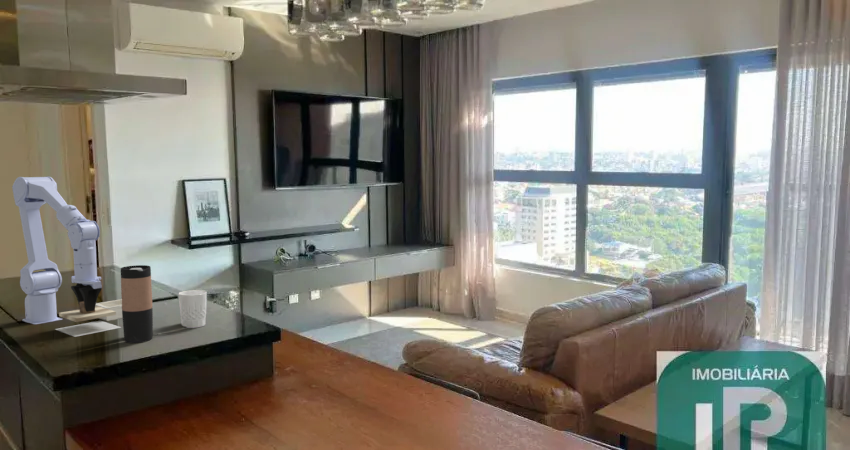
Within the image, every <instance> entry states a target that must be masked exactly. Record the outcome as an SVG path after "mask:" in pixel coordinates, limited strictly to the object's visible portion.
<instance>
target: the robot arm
mask: <svg viewBox="0 0 850 450" xmlns="http://www.w3.org/2000/svg"><path fill="white" fill-rule="evenodd" d="M57 184H58V183H57V182H56V181H55V179H54V178H53V177H51V176H49V175H48V176H32V177H31V176H30V177H29V176H25V177H24V176H18V177H16V179H15V180H14V182H13V184H12V186H11V187H12V194H13V199H14V203H15V204H14V205H15V206H17V207H18V212H19V216H20V222H21V227H22V228H21V229H22V233H23V239H24V243H25V250H26V254H27V255H26V256H27V261H28V262H27V263H26V264H25V265H24V266H23V267H22V268H21V269H20V270H19V273H20V279H19V286H20V288H21V290H22V291H23V292H24V293H25V294H26V296H25V298H24V312H25V318H23V319H22V322H24V323H28V324H32V325H40V324H46V323H52V322H57V321H62V320H63V318H62V317H58V315H57V313H58V311H57V296H56V293H57V292H58V291H59V288H60V287H61V285H62V283H63V277H62V274H61V272H60V270H59V267H58V264H56V262H53V261H52V260H50V259H49V257H48V250H47V245H46V239H45V233H44V228H43V227H44V226H43V223H42V218H41V213H40V212H41V211H40V210H41V207H42V206H43V205H45V204H47V205H48V206H49V207H50V208H52V209H53V210H54V211H55V212H56V215H55V217H56V219H57V220H58V221H59V223H61V224H62V226H63V227H64V228H65V229H66V230H67V237H68V239H69V242H70V247H71V249H73V250H72V253H73V270H74V271H73V272H74V275H72V276H71V283H72V284H75V285H71V286H70V289H71V290H72V292H73V293H74V296H75V297H76V299H77V302H78V305H79V302H83V301H84V305H85V310H86V311H87V312H89V311H94V310H95V306H96V303H97V301H98V297H99V295H100V293H101V291H102V289H103V286H102V276H98V267H97V266H98V265H97V246H96V241H97V240H98V239H99V237H100V235H101V229H100V226H99V224H98V223H97V221H95V220H90V219H87V218H86V217H85V216H84V215H83V214H82V213H81V212H80V211H79V209H78V208H77V206H76V205H73V204H67V203H68V202H66V201H65V199H64V198H63V197H62V195H61V194H60V193H59V192H58V185H57Z"/></svg>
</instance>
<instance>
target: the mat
mask: <svg viewBox="0 0 850 450" xmlns="http://www.w3.org/2000/svg"><path fill="white" fill-rule="evenodd" d="M120 328H121V329H123V328H122V327H121V326H119V325H115V324H113V323H109V322H108V321H105V320H98V321H96V320H95V321H91V322H86V323H85V322H84V323H81V324H76V325H69V326H65V327H60V328H55V329H54V330H56V331H58V332H60V333H64V334H66V335H69V336H72V337H75V338H76V337H80V336H86V335H91V334H96V333H102V332H105V331H110V330H116V329H120Z"/></svg>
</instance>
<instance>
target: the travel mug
mask: <svg viewBox="0 0 850 450" xmlns="http://www.w3.org/2000/svg"><path fill="white" fill-rule="evenodd" d="M151 271H152V270H151V265H144V264H142V265H141V264H140V265H139V264H137V265H127V266H123V267H121V268H120V283H121V284H120V288H121V289H120V290H121V291H120V293H121V295H120V296H121V299H122V317H123V318H122V326H123V328H122V329H123V340H124V342H126V343H130V344H136V343H137V344H138V343H145V342H148V341H151V340H153V335H154V332H153V330H154V327H153V326H154V324H153V323H154V321H153V318H154V316H153V315H154V313H153V290H152V289H153V288H152V287H153V286H152V272H151Z"/></svg>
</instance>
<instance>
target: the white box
mask: <svg viewBox="0 0 850 450" xmlns="http://www.w3.org/2000/svg"><path fill="white" fill-rule="evenodd" d="M96 306H99V307H102V308H106V309H109V310H112V311H115V312H116V315H113V316H107V317H102V318H98V319H99V320H101V321H104V322H109V321H115V320H120V319H123V317H122V298H121V299H116V300H115V299H114V300H109V301H102V302H96ZM96 306H95V307H96Z"/></svg>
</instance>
